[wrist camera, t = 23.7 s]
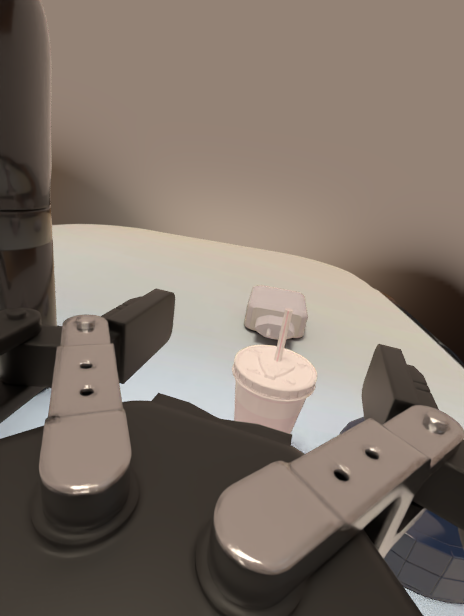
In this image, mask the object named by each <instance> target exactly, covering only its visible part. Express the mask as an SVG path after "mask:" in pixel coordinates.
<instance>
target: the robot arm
mask: <svg viewBox="0 0 464 616" xmlns="http://www.w3.org/2000/svg"><path fill="white" fill-rule="evenodd" d="M51 158H52V157H51V49H50V39H49V30H48V25H47V21H46V16H45V11H44V8H43V5H42V2H41V0H0V423H1V422H3V421H4V420H5V419H6V418H8V417H9V416H10V415H11V414H13V413H14V412H15V411H16V410H18V409H19V408H20V407H22V406H23V405H24V404H25V403H27V402H28V401H29V400H30V399H32V398H33V397H34V396H35V395H37V394H38V393H39V392H41V391H42V390H43V389H44V388H46V387H47V388H52V390H51V398H50V406H49V413H48V418H46V420H45V425H44V426H41V427H38V428H35V429H31V430H28V431H25V432H22V433H18V434H15V435H12V436H8V437H5V438H2V439H0V616H423V615H422V613H421V612H420V610H419V609H418V607H417V606H416V605H415V603H414V602H413V600H412V599H411V597H410V596H409V594H408V593H407V592H406V590H405V589H404V587H403V586H402V584H401V583H400V582H399V580H398V579H397V577H396V576H395V574H394V573H393V572H392V570H391V569H390V567H389V566H388V564H387V563H386V561H385V560H384V557H385V556H386V554H387V553H388V551H389V550H390V549H391V548H392V546H393V545H394V544H395V543H396V542H397V541H398V540H399V539H400V538H401V537H402V536H403V535H404V534H405V533H406V532H407V531H408V530H409V529H410V527H411V526H412V525H413V524H414V523H415V522H416V521H417V520H418V519H419V518H420V517H421V516H422V515H423V514H424V513H425V511H426V510H429V511H431V512H432V513H434V514H436V515H438V516H439V517H441V518H443V519H445V520H446V521H448V522H450V523H452V524H453V525H455V526H457V527H458V531H459V535H460V539H461V542H462V546H463V549H464V440H463V439H464V430H463V428H462V427H461V425H460V424H459V423H458V422H457V421H456V420H454V419H453V418H452V417H450V416H449V415H447V414H446V413H444V412H442V411H440V410H439V409H438V407H437V405H436V403H435V400H434V398H433V396H432V394H431V393H430V389H429V387H428V386H427V383H426V381H425V378H424V376H423V375H422V374H421V373H420V372H419V371H418V370H417V369H416V368H415V367H414V366H411V365H407V364H406V361H405V359H404V356H403V354H402V351H401V349H398V348H393V347H389V346H385V345H381V344H378V345H377V347H376V349H375V352H374V354H373V357H372V360H371V363H370V366H369V369H368V372H367V374H366V377H365V380H364V384H363V388H362V403H363V411H364V420H365V421H363V422H361V423H360V424H358V425H356V426H354V427H352V428H351V429H349V430H347V431H345V432H344V433H342V434H340V435H338V436H337V437H335V438H333V439H331V440H330V441H328V442H326V443H324V444H322V445H321V446H319V447H317V448H315V449H314V450H312V451H310V452H308V453H307V454H304V453H302V452H301V451H299V450H298V449H296V448H294V447H292V446H291V439H292V434H288V433H285V432H282V431H279V430H275V429H272V428H269V427H266V426H263V425H259V424H255V423H247V422H239V421H231V420H224V419H219V418H217V417H215V416H213V415H211V414H209V413H208V412H206V411H204V410H202V409H200V408H198V407H197V406H195V405H193V404H191V403H189V402H186V401H183V400H179V399H176V398H173V397H170V396H167V395H163V394H160V393H158V394H157V395H156V396H155V398H154V399H153V400H152V401H128V402H122V399H121V392H120V385H119V383H122V384H124V383H125V382H126V381H127V380H128V379H129V378H130V377H131V376H132V375H133V374H134V373H135V372H136V371H137V370H139V369H140V368H141V367H142V366H143V365H144V364H145V363H146V362H147V361H148V360H149V359H150V358H151V357H152V356H153V355H154V354H155V353H156V352H157V351H158V350H159V349H160V348H161V347H163V346H164V345H165V344H166V343H167V342H168V340H169V338H170V336H171V333H172V328H173V317H174V306H175V295H174V293H172V292H168V291H164V290H160V289H154V290H153V291H151V292H149V293H148V294H146V295H144V296H143V297H138V298H133V299H130V300H128V301H126V302H125V303H123V304H122V305H119V306H118V307H116V309H115V308H114V309H113V310H111V311H109V312H107V313H106V314H104V315H102V316H96V315H78V316H73V317H70V318H68V319H66V320H65V321H64V322H63V326H57V317H56V297H55V277H54V257H53V240H52V220H51V206H50V205H51V203H50V202H51V201H50V181H51V162H52V161H51Z"/></svg>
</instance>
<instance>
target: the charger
mask: <svg viewBox="0 0 464 616" xmlns="http://www.w3.org/2000/svg"><path fill="white" fill-rule="evenodd" d="M286 308H290V309H292V310H293V312H292V317H291V321H290V325H289V330H288V334H287V338H286V339H290V338H300V337H302V336H303V334H304V330H305V326H306V322H307V318H308V315H307V308H306V302H305V296H304V295H303V294H302V293H299V292H296V291H290V290H285V289H280V288H274V287H269V286H263V285H256V286H254V287H253V288H252V291H251V295H250V298H249V301H248V305H247V310H246V316H245V321H244V325H245V326H246V327H247V328H248V329H251V330H254V331H257V332H258V333H260V334H261V335H263V336H264V337H266V338H271V339H276V340H279V335H280V331H281V326H282V322H283V317H284V313H285V309H286Z"/></svg>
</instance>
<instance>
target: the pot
mask: <svg viewBox="0 0 464 616" xmlns="http://www.w3.org/2000/svg"><path fill="white" fill-rule="evenodd" d="M363 421H365V420H364V417H362V418H359V419H357V420H354V421H351V422H349V423H348V424H347V426H346V427H345V428H344V429H343V430H342V431H341V432H340V434H342V433H344V432H345V431H347V430H349V429H351V428H352V427H354V426H356V425H358V424H360V423H361V422H363ZM340 434H339V435H340ZM384 560H385V561H386V563H387V564H388V566H389V567H390V569H391V570H392V572H393V573H394V574H395V576H396V577H397V579H398V580H399V582H400V583H401V584H402V585H403V586H404V587H406V588H408V589H410V590H412V591H414V592H416V593H419V594H421V595H424V596H427V597H429V598H432V599H436V600H440V601H444V602H451V603H464V549H463V546H462V542H461V539H460V535H459V531H458V527H457V526H455V525H453V524H452V523H450V522H448V521H446V520H445V519H443V518H441V517H439V516H438V515H436V514H434V513H432V512H431V511H429V510H426V511H425V513H424V514H423V515H422V516H421V517H420V518H419V519H418V520H417V521H416V522H415V523H414V524H413V525H412V526H411V527H410V529H409V530H408V531H407V532H406V533H405V534H404V535H403V536H402V537H401V538H400V539H399V540H398V541H397V542H396V543H395V544H394V545H393V546H392V548H391V549H390V550H389V551H388V553H387V554H386V556H385V557H384Z"/></svg>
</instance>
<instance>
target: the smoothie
mask: <svg viewBox="0 0 464 616" xmlns="http://www.w3.org/2000/svg"><path fill="white" fill-rule="evenodd" d="M292 312H293V310H292V309H290V308H286V309H285V313H284V317H283V322H282V326H281V331H280V335H279V340H278V344H277V346H272V345H253V346H249V347H246V348H243V349H242V350H240V351H239V352H238V353H237V354H236V356H235V360H234V364H233V367H232V372H233V376H234V377H235V379H236V384H235V412H234V421H239V422H247V423H255V424H259V425H263V426H266V427H269V428H272V429H275V430H279V431H282V432H285V433H288V434H291V431H292V429H293V427H294V424H295V422H296V420H297V418H298V415H299V413H300V411H301V409H302V407H303V404H304V402H305V400H306V398H307V397H309V396H310V395H311V394H312V393H313V391H314V389H315V383H316V380H317V372H316V369H315V368H314V366H313V365H312V364H311V363H310V362H309V361H308V360H307V359H306V358H304V357H303V356H301V355H299V354H298V353H296V352H293V351H291V350H288V349H285V348H284V347H285V343H286V338H287V334H288V330H289V325H290V321H291V317H292Z"/></svg>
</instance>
